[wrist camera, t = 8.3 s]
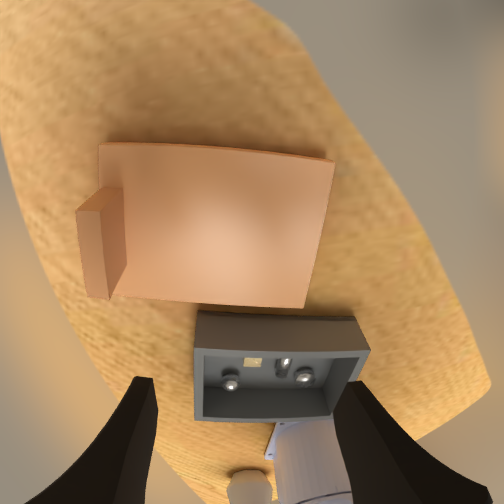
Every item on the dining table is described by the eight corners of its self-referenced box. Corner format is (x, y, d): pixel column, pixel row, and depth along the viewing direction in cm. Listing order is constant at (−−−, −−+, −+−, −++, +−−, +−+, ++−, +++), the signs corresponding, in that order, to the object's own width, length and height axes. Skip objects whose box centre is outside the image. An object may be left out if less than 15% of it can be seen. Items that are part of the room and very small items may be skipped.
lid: (298, 293, 21) (315, 346, 16) (116, 280, 19) (91, 330, 15) (326, 157, 17) (361, 181, 12) (109, 140, 15) (68, 159, 11)
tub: (325, 387, 25) (335, 418, 22) (196, 385, 24) (194, 420, 21) (354, 316, 22) (370, 350, 19) (197, 310, 21) (193, 347, 17)
